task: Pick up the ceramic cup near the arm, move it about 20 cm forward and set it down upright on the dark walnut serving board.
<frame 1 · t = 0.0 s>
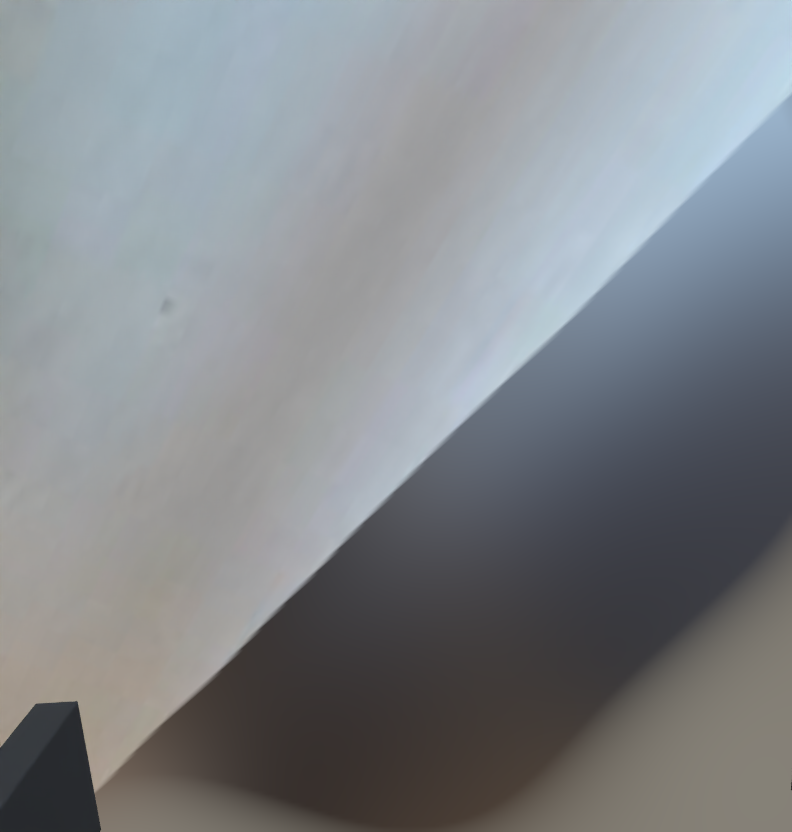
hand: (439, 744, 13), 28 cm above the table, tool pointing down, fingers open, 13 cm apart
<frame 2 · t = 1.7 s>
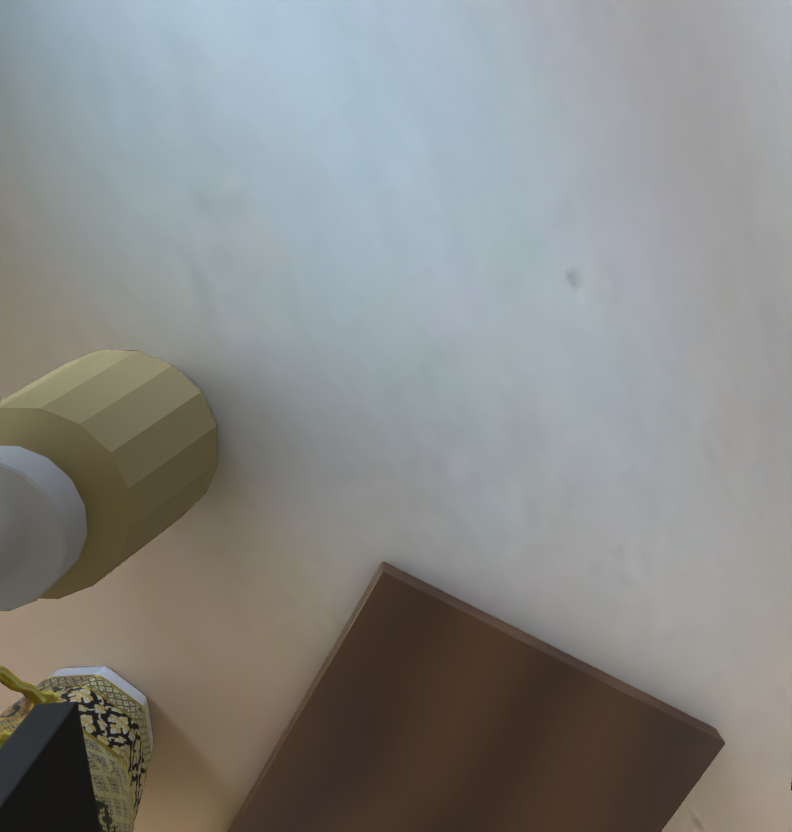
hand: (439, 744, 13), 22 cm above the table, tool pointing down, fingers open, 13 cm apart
ceramic cup: (89, 693, 37), on the table
squeeze bottle: (154, 422, 34), on the table
serving board: (440, 821, 39), on the table
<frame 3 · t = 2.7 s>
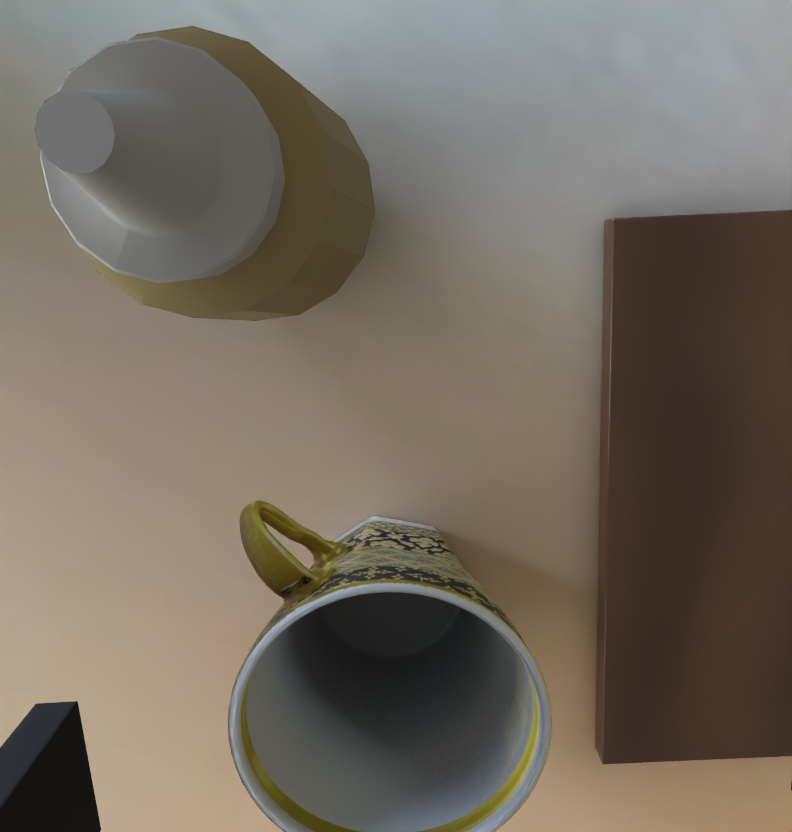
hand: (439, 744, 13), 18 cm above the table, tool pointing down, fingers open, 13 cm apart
ceramic cup: (371, 557, 31), on the table
squeeze bottle: (275, 209, 28), on the table
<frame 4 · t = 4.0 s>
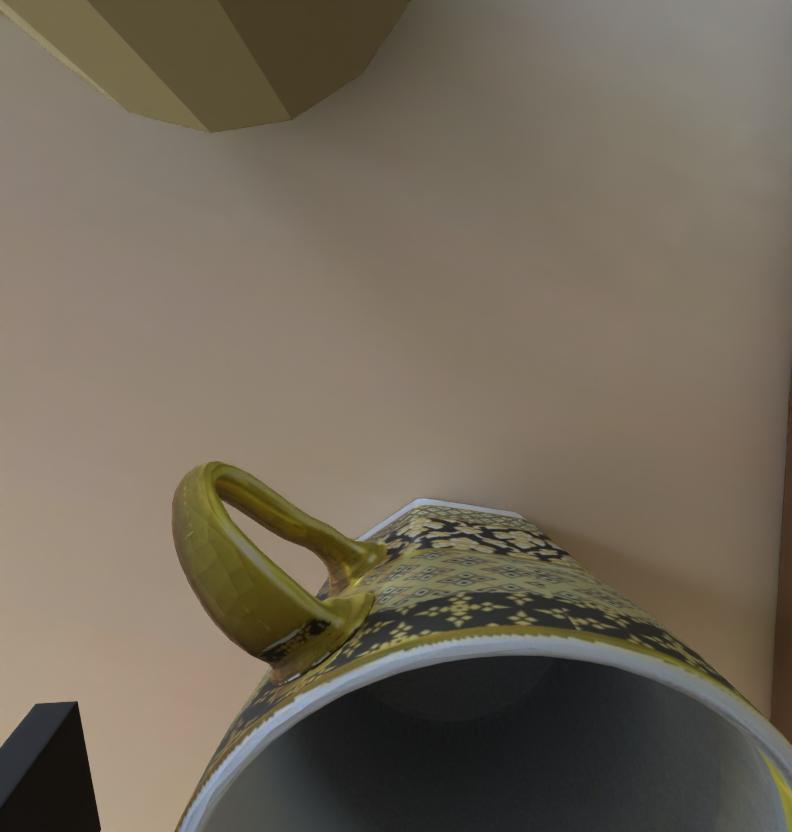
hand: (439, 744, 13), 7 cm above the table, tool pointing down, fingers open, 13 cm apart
ceramic cup: (417, 565, 20), on the table
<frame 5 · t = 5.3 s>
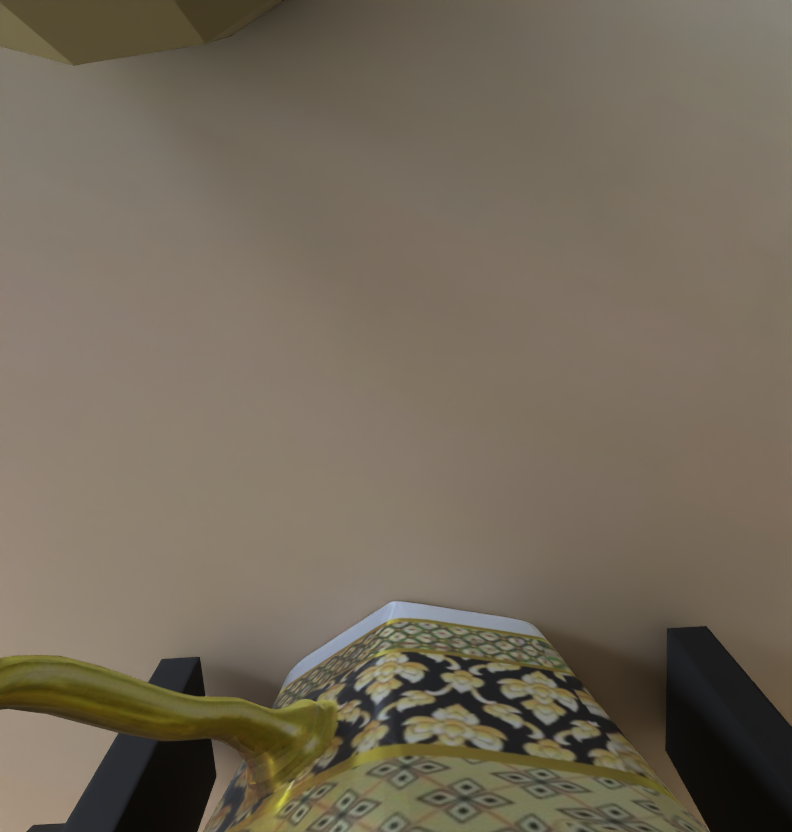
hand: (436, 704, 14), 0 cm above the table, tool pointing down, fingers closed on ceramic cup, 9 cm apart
ceramic cup: (392, 686, 15), on the table, touching gripper
when the fingers open (1 cm above the table, at t = 12.4 s): ceramic cup stays where it is, resting on serving board.
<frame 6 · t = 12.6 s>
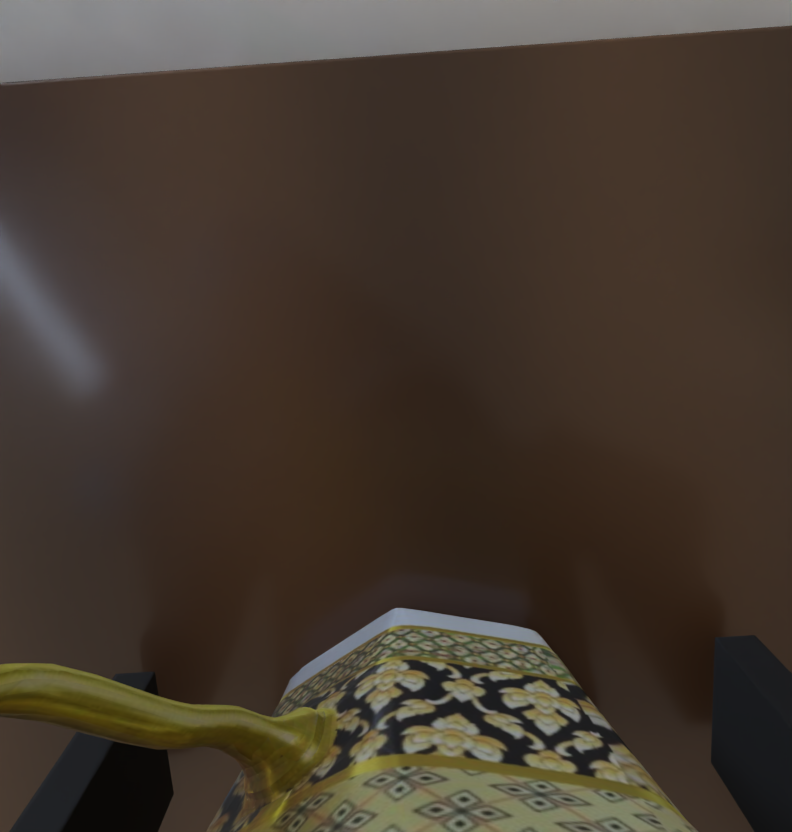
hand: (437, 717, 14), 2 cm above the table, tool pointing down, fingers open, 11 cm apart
ceramic cup: (395, 693, 14), point 1 cm above the table, touching serving board
serving board: (433, 665, 15), on the table
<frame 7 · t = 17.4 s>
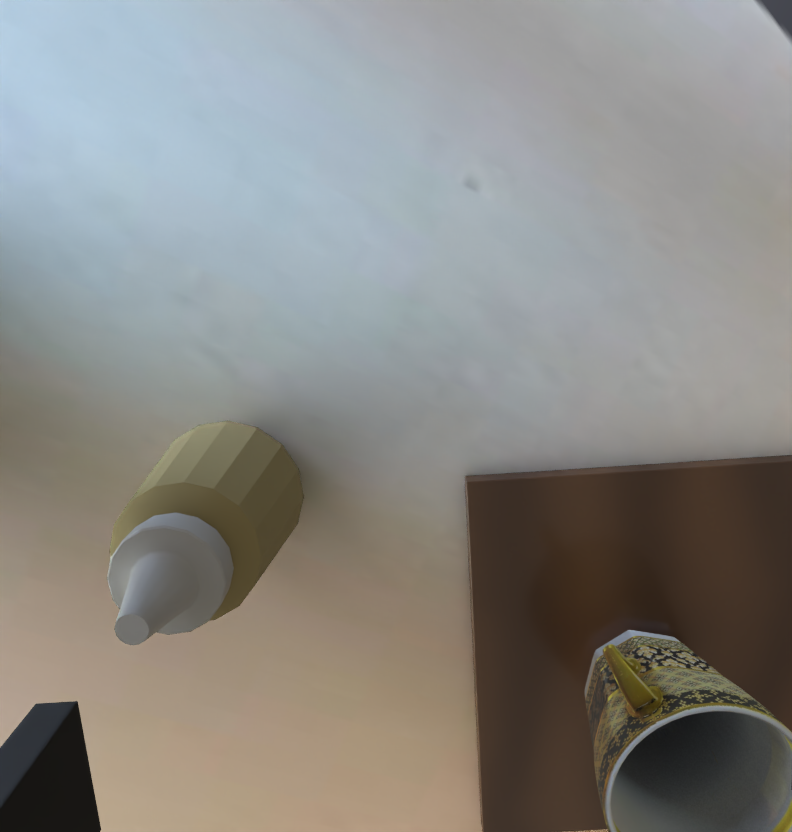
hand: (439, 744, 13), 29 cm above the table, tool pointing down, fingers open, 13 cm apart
ceramic cup: (625, 658, 43), point 1 cm above the table, touching serving board
squeeze bottle: (243, 472, 42), on the table
serving board: (633, 649, 44), on the table
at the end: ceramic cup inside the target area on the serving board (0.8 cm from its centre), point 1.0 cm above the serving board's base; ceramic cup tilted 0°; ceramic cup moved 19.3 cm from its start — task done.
